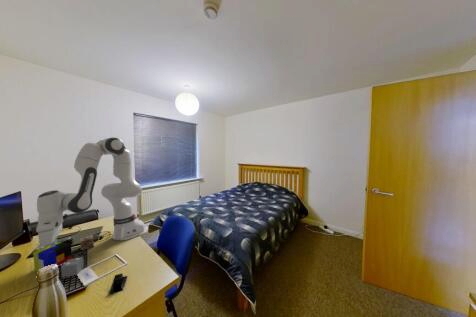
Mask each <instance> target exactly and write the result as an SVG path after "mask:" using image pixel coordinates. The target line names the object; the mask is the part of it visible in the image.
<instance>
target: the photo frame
mask: <svg viewBox="0 0 476 317" xmlns="http://www.w3.org/2000/svg"><path fill="white" fill-rule="evenodd" d="M114 256H116V257H117V258H119V259H120V260H121V261H122V262H123V264H122V265H120V266H117V267H115V268H114V269H112V270H110V271H108V272H106V273H104V274H102V275H100V276H98V275H97V274H96V273H95V271H94V270H93V269H92V267H94V266H96V265H99V264H101V263H102V262H105V261H107V260H109V259H112V258H114ZM126 265H128V262H127V261H126V260H124V259H123V258H122V257H121V256H120V255H118V254H117V253H115V254H113V255H110V256H109V257H106V258H105V259H102V260H99V261H98V262H95V263H94V264H91V265H89V266H87V267H84V268H83V269H82V270H81V271H80V272H79V273H78V274H77V276H78V277H77V276H76V277H77V278H78V280H79V279H80V283H81V284H82V283H83V284H82V285H83V287H84V286H85V287H86V286H89V285H90V284H92V283H94V282H96V281H98V280H100V279H102V278H103V277H105V276H107V275H109V274H111V273H113V272H115V271H116V270H117V271H118V270H119V269H121V268H123V267H124V266H126Z"/></svg>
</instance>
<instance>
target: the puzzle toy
mask: <svg viewBox="0 0 476 317" xmlns="http://www.w3.org/2000/svg"><path fill="white" fill-rule="evenodd" d="M32 255H33V265H34V271H35V272H39V271H38V270H39V269H41V268H43V267H45V266H48V265H51V264H57V265H60V264H62V263H64V262H67V261H68V260H69V259H73V256H72V255H73V254H72V243H71V242H70V243H68V242H60V241H57V244H56V245H55V246H54V247H50V245H48V246H44V247H41V248H40V249H38V250H36V251H34V252H32Z"/></svg>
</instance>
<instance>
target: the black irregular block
mask: <svg viewBox="0 0 476 317" xmlns="http://www.w3.org/2000/svg"><path fill="white" fill-rule="evenodd" d="M127 279H128V275H125V276H124V274H123V273H119V274H115V275H114V277H113V280H112V284H111V286H110V289H109V292H108V296H109V295H114V294H116V293H120V292H122V291H124V290H125V285H126V283H127Z"/></svg>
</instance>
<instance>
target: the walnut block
mask: <svg viewBox="0 0 476 317" xmlns="http://www.w3.org/2000/svg"><path fill="white" fill-rule="evenodd" d="M79 241H80V251H81V250H83V249H86V250H88V249H92V248H95V244H94V235H93V234H90V235H87V236H84V237H80V240H79ZM83 251H84V250H83Z"/></svg>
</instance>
